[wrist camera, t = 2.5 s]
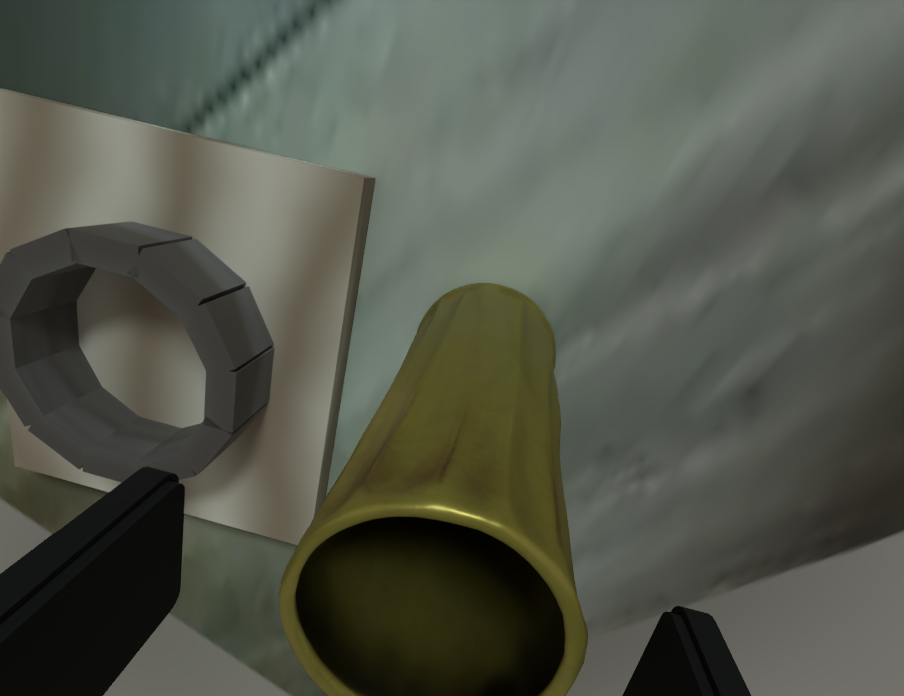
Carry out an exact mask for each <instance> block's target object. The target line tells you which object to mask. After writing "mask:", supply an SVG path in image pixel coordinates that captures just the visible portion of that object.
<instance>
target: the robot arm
mask: <svg viewBox="0 0 904 696" xmlns="http://www.w3.org/2000/svg"><path fill="white" fill-rule="evenodd" d="M184 502H185V487H184V485H183V484H181V483H179V478H178V476H177V475H176V474H174V473H170V472H167V471H163V470H159V469H155V468H151V467H148V466H147V467H143V468H141V469H139V470H138V471H136V472H135V473H134V474H132V475H131V476H130V477H128V478H127V479H126V480H125V481H123V482H122V483H121V484H119V485H118V486H117V487H115V488H114V489H113V490H111V491H110V492H109V493H108V494H106V495H105V496H104V497H102V498H101V499H100V500H98V501H97V502H96V503H94V504H93V505H92V506H90V507H89V508H88V509H87V510H85V511H84V512H83V513H81V514H80V515H79V516H77V517H76V518H75V519H73V520H72V521H71V522H69V523H68V524H67V525H66V526H64V527H63V528H62V529H60V530H59V531H57V532H56V533H54V534H52V535H51V536H50V537H48V538H47V539H46V540H44V541H43V542H42V543H41V544H39V545H38V546H37V547H36V548H34V549H33V550H31V551H30V552H29V553H27V554H26V555H25V556H24V557H22V558H21V559H20V560H18V561H17V562H16V563H14V564H13V565H12V566H10V567H9V568H8V569H6V570H5V571H4V572H2V573H1V574H0V696H103V695H104V693H105V692H106V691H107V690H108V688H109V687H110V686H111V685H112V683H113V682H114V681H115V680H116V678H117V677H118V676H119V675H120V673H121V672H122V671H123V670H124V668H125V667H126V666H127V665H128V663H129V662H130V661H131V660H132V658H133V657H134V656H135V655H136V653H137V652H138V651H139V650H140V648H141V647H142V646H143V645H144V643H145V642H146V641H147V639H148V638H149V637H150V636H151V634H152V633H153V632H154V631H155V630H156V628H157V627H158V626H159V624H160V623H161V622H162V621H163V620H164V618H165V617H166V616H167V615H168V613H169V612H170V611H171V609H172V608H173V606H174V605H175V603H176V601H177V598H178V596H179V593H180V585H181V564H182V543H183V522H184ZM623 696H751V694H750V692H749V690H748V688H747V686H746V684H745V682H744V680H743V678H742V676H741V674H740V672H739V670H738V667H737V665H736V663H735V661H734V659H733V657H732V655H731V653H730V651H729V649H728V647H727V644H726V642H725V640H724V638H723V637H722V634H721V632H720V630H719V628H718V626H717V624H716V622H715V620H714V619H713V617H712V616H711V615H709V614H707V613H703V612H700V611H695V610H692V609H688V608H684V607H681V606H676V607H674V608H673V609H672V611H671V612H664V613H663V614H662V616H661V618H660V620H659V622H658V624H657V626H656V628H655V630H654V632H653V634H652V636H651V638H650V640H649V642H648V644H647V646H646V648H645V651H644V653H643V655H642V657H641V659H640V661H639V663H638V665H637V667H636V669H635V671H634V673H633V675H632V677H631V679H630V681H629V683H628V685H627V688H626V690H625V692H624V694H623Z"/></svg>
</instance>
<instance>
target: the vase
mask: <svg viewBox="0 0 904 696" xmlns="http://www.w3.org/2000/svg"><path fill="white" fill-rule="evenodd" d="M555 361H556V347H555V341H554V335H553V331H552V329H551V326H550V324H549V322H548V320H547V318H546V317H545V315H544V314H543V312H542V311H541V310H540V309H539V308H538V306H537V305H536V304H535V303H534V302H533V301H532V300H530V299H529V298H528V297H527V296H525V295H524V294H522V293H520V292H518V291H516V290H514V289H511V288H508V287H505V286H501V285H497V284H490V283H477V284H470V285H466V286H463V287H459V288H457V289H454V290H452V291H450V292H448V293H446V294H445V295H443V296H442V297H441V298H439V299H438V300H437V301H436V302H435V303H434V304H433V305H432V306H431V307H430V309H429V310H428V311H427V313H426V314H425V316H424V317H423V319H422V321H421V323H420V325H419V328H418V331H417V334H416V336H415V338H414V340H413V342H412V344H411V346H410V348H409V351H408V353H407V355H406V357H405V360H404V362H403V364H402V366H401V368H400V370H399V372H398V374H397V376H396V378H395V379H394V381H393V383H392V385H391V387H390V389H389V391H388V392H387V394H386V396H385V398H384V400H383V401H382V403H381V405H380V407H379V408H378V410H377V412H376V413H375V415H374V417H373V418H372V420H371V422H370V423H369V425H368V427H367V428H366V430H365V432H364V434H363V435H362V437H361V439H360V441H359V443H358V445H357V446H356V448H355V450H354V452H353V454H352V456H351V458H350V459H349V461H348V463H347V464H346V466H345V468H344V469H343V471H342V472H341V474H340V476H339V477H338V479H337V481H336V482H335V484H334V485H333V487H332V488H331V490H330V492H329V493H328V495H327V496H326V498H325V500H324V501H323V503H322V504H321V506H320V508H319V509H318V511H317V513H316V515H315V517H314V518H313V520H312V522H311V524H310V526H309V527H308V529H307V530H306V532H305V533H304V535H303V536H302V538H301V540H300V541H299V543H298V545H297V548H296V550H295V551H294V553H293V555H292V557H291V559H290V561H289V563H288V565H287V567H286V570H285V572H284V575H283V577H282V581H281V586H280V590H279V610H280V617H281V623H282V626H283V629H284V632H285V635H286V638H287V640H288V642H289V644H290V646H291V648H292V650H293V652H294V653H295V655H296V657H297V658H298V660H299V662H300V663H301V665H302V666H303V668H304V670H305V671H306V673H307V674H308V675H309V676H310V678H311V679H312V680H313V681H314V682H315V684H316V685H317V686H318V687H319V688H320V689H321V690H322V691H323V692H324V693H325V694H326V695H327V696H566V694H567V692H568V691H569V689H570V688H571V686H572V685H573V683H574V681H575V679H576V677H577V675H578V673H579V671H580V669H581V667H582V665H583V663H584V658H585V653H586V648H587V641H588V632H587V626H586V623H585V620H584V617H583V614H582V611H581V607H580V604H579V601H578V597H577V592H576V586H575V580H574V572H573V564H572V556H571V547H570V538H569V528H568V519H567V512H566V506H565V499H564V492H563V483H562V475H561V465H560V432H561V417H560V406H559V400H558V390H557V384H556V380H555V376H554V368H555Z"/></svg>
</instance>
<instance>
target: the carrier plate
mask: <svg viewBox="0 0 904 696" xmlns="http://www.w3.org/2000/svg"><path fill="white" fill-rule="evenodd" d="M374 184H375V178H373V177H368V176H364V175H360V174H356V173H352V172H348V171H344V170H339V169H335V168H331V167H327V166H323V165H319V164H314V163H310V162H306V161H302V160H298V159H294V158H289V157H285V156H281V155H277V154H273V153H269V152H265V151H260V150H256V149H252V148H248V147H244V146H240V145H235V144H231V143H227V142H223V141H219V140H215V139H211V138H206V137H202V136H198V135H194V134H190V133H186V132H181V131H177V130H173V129H169V128H165V127H161V126H157V125H152V124H148V123H144V122H140V121H136V120H132V119H127V118H123V117H119V116H115V115H111V114H107V113H102V112H98V111H94V110H90V109H86V108H82V107H78V106H73V105H69V104H65V103H61V102H57V101H53V100H48V99H44V98H40V97H36V96H32V95H28V94H24V93H19V92H15V91H11V90H6V89H1V88H0V388H1V390H2V391H3V393H4V394H5V396H6V398H7V402H8V411H9V419H10V428H11V437H12V445H13V454H14V463H15V466H17V467H21V468H24V469H28V470H31V471H35V472H39V473H42V474H46V475H49V476H53V477H56V478H60V479H63V480H67V481H71V482H74V483H78V484H81V485H85V486H88V487H92V488H95V489H99V490H103V491H106V492H110V491H111V490H113V489H114V488H115V487H117V486H118V485H119V484H121V483H122V482H123V481H125V480H126V479H127V478H128V477H130V476H131V475H132V474H134V473H135V472H136V471H138V470H139V469H141V468H143V467H147V466H148V467H151V468H155V469H159V470H163V471H167V472H170V473H174V474H176V475H177V476H178V478H179V483H181V484H183V485H184V487H185V502H184V514H188V515H191V516H195V517H198V518H202V519H206V520H209V521H213V522H216V523H220V524H223V525H227V526H230V527H234V528H238V529H241V530H245V531H248V532H252V533H255V534H259V535H262V536H266V537H270V538H273V539H277V540H280V541H284V542H287V543H291V544H294V545H298V543H299V541H300V540H301V538H302V536H303V535H304V533H305V532H306V530H307V529H308V527H309V526H310V524H311V522H312V520H313V518H314V517H315V515H316V513H317V511H318V509H319V508H320V506H321V504H322V503H323V501H324V500H325V497H326V490H327V484H328V478H329V471H330V465H331V459H332V452H333V446H334V439H335V433H336V427H337V420H338V414H339V407H340V401H341V395H342V388H343V382H344V375H345V369H346V363H347V356H348V350H349V344H350V337H351V331H352V324H353V318H354V312H355V305H356V299H357V292H358V286H359V280H360V273H361V267H362V260H363V254H364V248H365V241H366V235H367V229H368V222H369V216H370V209H371V203H372V197H373V190H374Z"/></svg>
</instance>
